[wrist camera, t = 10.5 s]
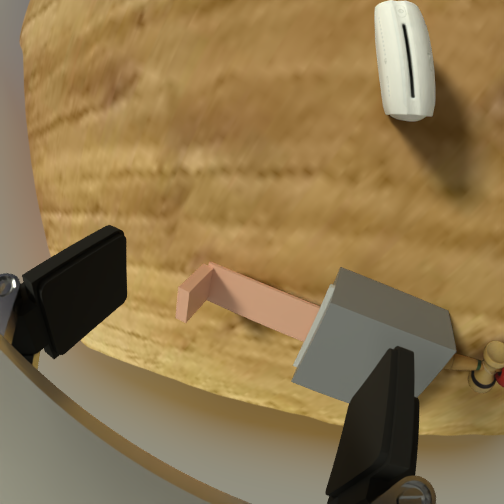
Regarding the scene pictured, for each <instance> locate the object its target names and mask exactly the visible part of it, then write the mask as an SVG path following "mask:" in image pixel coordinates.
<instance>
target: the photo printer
mask: <svg viewBox="0 0 504 504" xmlns="http://www.w3.org/2000/svg"><path fill="white" fill-rule="evenodd" d="M375 43H376V53H377V62H378V71H379V80H380V87H381V95H382V102H383V107H384V111H385V114H386V115H390V116H392V117H393V118H395V119H398V120H404V121H419V120H421V119H423V118H425V117H426V116H430V117H432V116H433V112H434V106H435V74H434V64H433V56H432V49H431V44H430V39H429V34H428V30H427V26H426V24H425V21H424V18H423V16H422V14H421V12H420V10H419V8H418V6H416V5H415V4H413V3H411V2H409V1H392V0H390V1H385V2H382V3H380V4H378V5H377V6H376V7H375Z"/></svg>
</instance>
